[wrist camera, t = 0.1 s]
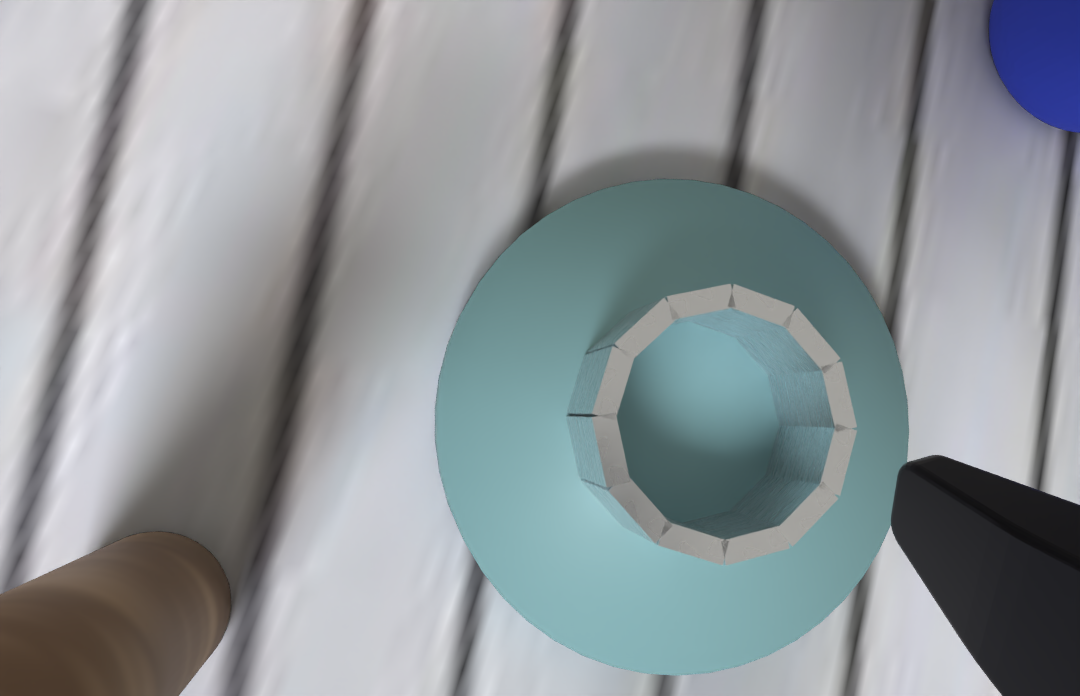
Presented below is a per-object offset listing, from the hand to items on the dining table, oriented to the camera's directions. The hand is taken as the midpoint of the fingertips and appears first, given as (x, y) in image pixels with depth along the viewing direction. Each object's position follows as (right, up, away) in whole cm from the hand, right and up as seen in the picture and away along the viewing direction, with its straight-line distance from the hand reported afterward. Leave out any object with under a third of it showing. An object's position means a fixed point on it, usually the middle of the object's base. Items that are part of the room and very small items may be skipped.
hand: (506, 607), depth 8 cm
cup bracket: (+4, 0, +16) cm, 16 cm away
